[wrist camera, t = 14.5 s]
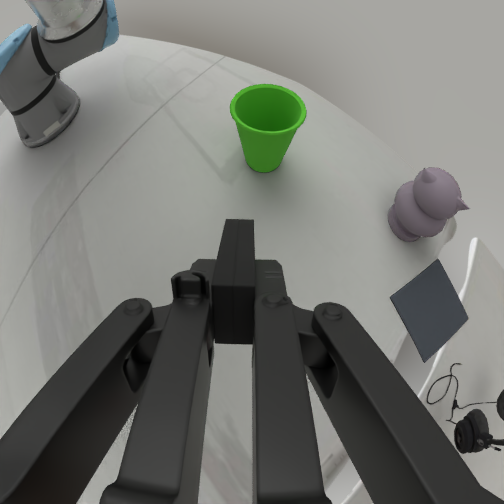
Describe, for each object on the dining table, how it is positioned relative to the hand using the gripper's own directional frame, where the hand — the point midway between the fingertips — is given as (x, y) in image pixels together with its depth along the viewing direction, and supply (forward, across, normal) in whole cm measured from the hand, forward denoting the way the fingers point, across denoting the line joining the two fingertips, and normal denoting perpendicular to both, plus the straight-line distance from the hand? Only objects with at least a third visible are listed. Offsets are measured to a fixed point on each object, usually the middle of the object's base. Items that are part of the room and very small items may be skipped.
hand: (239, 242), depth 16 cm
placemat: (+13, +27, -15) cm, 34 cm away
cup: (+29, +2, +1) cm, 29 cm away
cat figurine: (+22, +24, -6) cm, 33 cm away
